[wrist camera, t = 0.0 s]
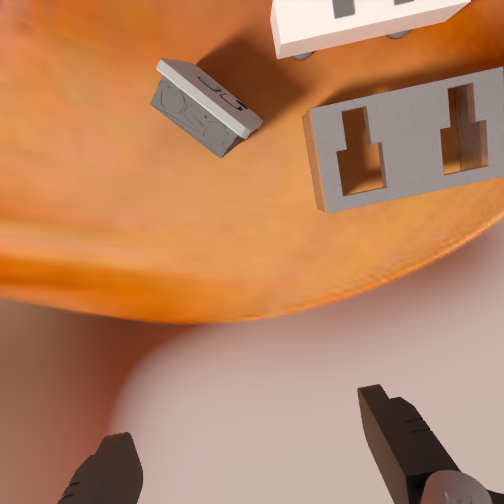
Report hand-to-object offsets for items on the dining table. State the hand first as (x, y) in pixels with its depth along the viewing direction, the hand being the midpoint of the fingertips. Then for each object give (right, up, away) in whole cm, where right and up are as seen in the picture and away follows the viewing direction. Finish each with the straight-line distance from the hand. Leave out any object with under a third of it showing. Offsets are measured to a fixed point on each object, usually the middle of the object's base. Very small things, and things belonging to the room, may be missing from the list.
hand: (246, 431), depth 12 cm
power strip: (+10, +29, +24) cm, 38 cm away
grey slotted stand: (+15, +18, +26) cm, 35 cm away
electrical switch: (-4, +21, +26) cm, 33 cm away
